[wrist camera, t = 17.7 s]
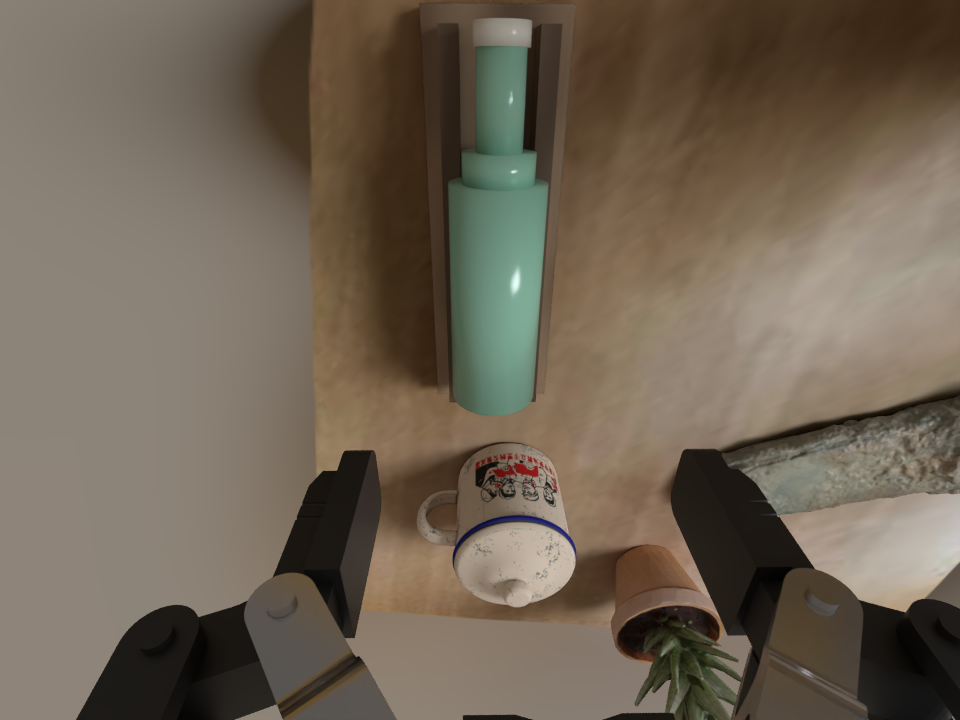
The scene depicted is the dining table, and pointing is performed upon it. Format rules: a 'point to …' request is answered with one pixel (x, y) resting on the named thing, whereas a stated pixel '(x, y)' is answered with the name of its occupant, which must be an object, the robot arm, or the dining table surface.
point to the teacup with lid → (506, 526)
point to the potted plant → (671, 633)
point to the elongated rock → (859, 460)
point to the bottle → (497, 233)
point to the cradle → (454, 131)
